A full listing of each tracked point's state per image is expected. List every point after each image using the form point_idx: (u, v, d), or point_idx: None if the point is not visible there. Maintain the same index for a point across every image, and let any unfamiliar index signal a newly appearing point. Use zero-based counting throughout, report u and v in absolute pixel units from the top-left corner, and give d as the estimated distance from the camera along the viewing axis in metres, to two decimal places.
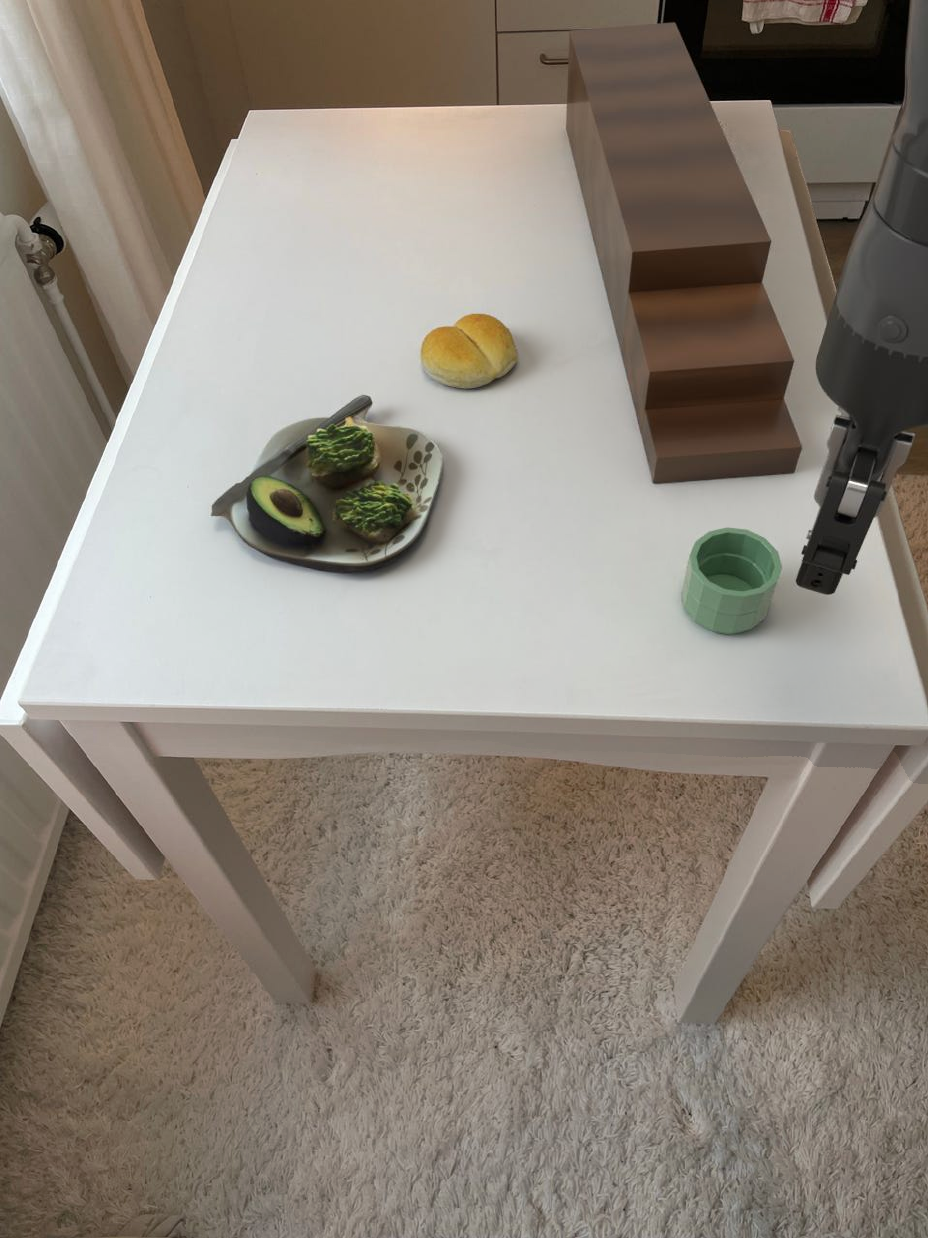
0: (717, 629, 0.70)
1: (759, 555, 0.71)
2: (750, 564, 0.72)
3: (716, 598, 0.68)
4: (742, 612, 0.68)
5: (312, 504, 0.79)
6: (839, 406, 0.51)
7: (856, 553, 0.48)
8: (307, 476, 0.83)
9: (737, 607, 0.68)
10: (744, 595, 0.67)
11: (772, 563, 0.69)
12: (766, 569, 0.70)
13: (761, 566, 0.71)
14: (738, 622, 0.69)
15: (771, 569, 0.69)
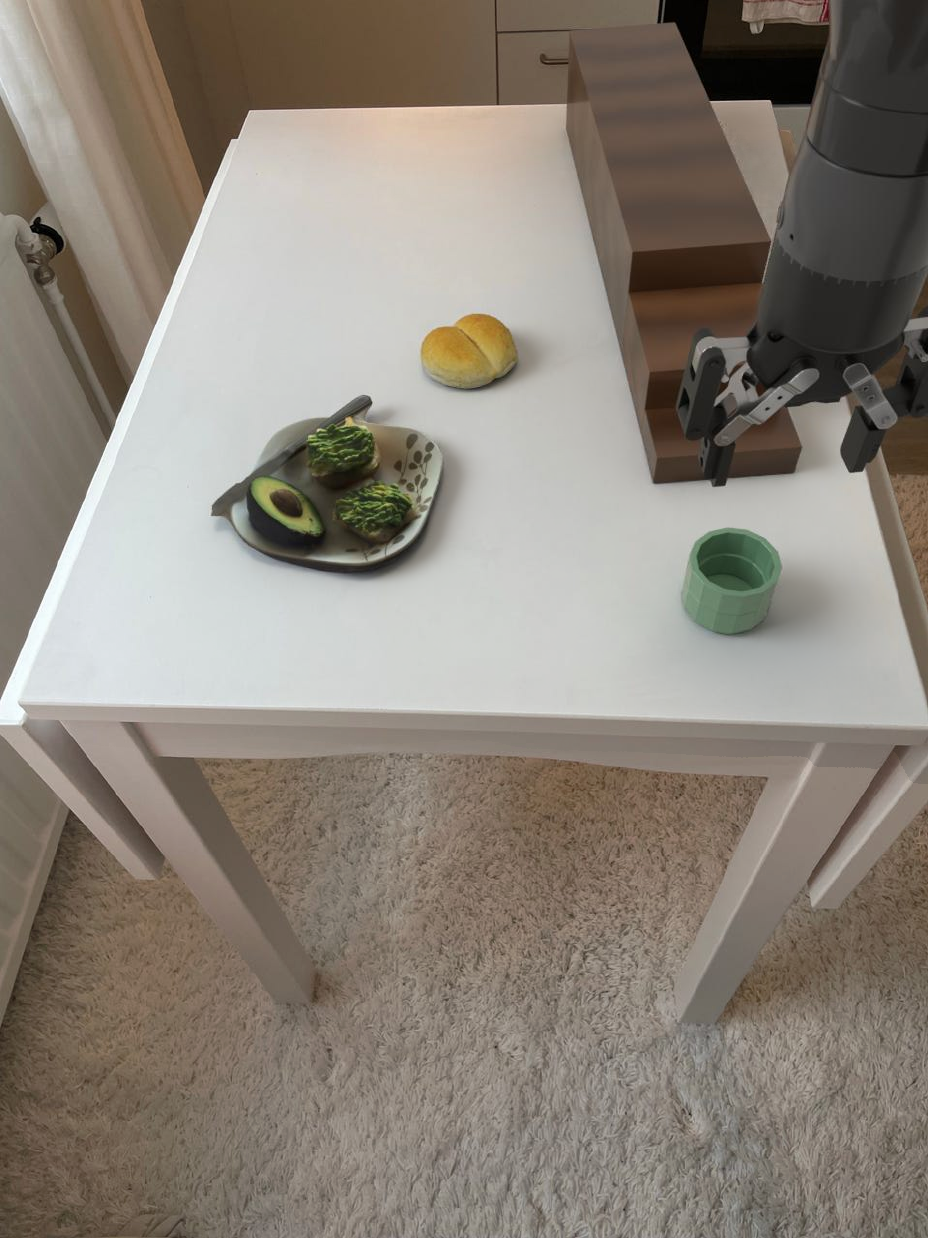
0: (717, 629, 0.70)
1: (759, 555, 0.71)
2: (750, 564, 0.72)
3: (716, 598, 0.68)
4: (742, 612, 0.68)
5: (312, 504, 0.79)
6: None
7: (690, 414, 0.53)
8: (307, 476, 0.83)
9: (737, 607, 0.68)
10: (744, 595, 0.67)
11: (772, 563, 0.69)
12: (766, 569, 0.70)
13: (761, 566, 0.71)
14: (738, 622, 0.69)
15: (771, 569, 0.69)
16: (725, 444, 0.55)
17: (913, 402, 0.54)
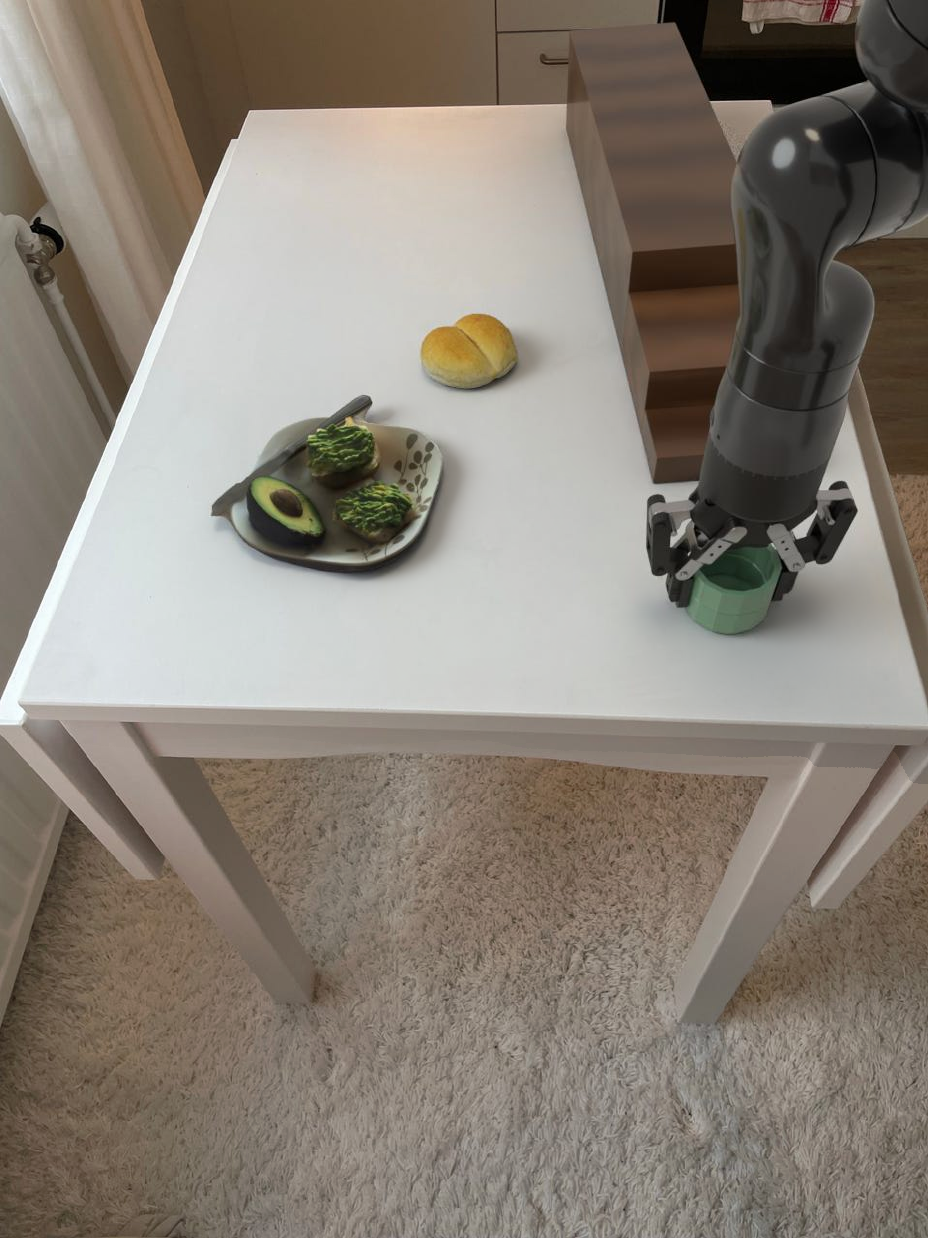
0: (717, 629, 0.70)
1: (759, 555, 0.71)
2: (750, 564, 0.72)
3: (716, 598, 0.68)
4: (742, 612, 0.68)
5: (312, 504, 0.79)
6: None
7: (651, 559, 0.66)
8: (307, 476, 0.83)
9: (737, 607, 0.68)
10: (744, 595, 0.67)
11: (772, 563, 0.69)
12: (766, 569, 0.70)
13: (761, 566, 0.71)
14: (738, 622, 0.69)
15: (771, 569, 0.69)
16: (684, 579, 0.68)
17: (818, 552, 0.67)
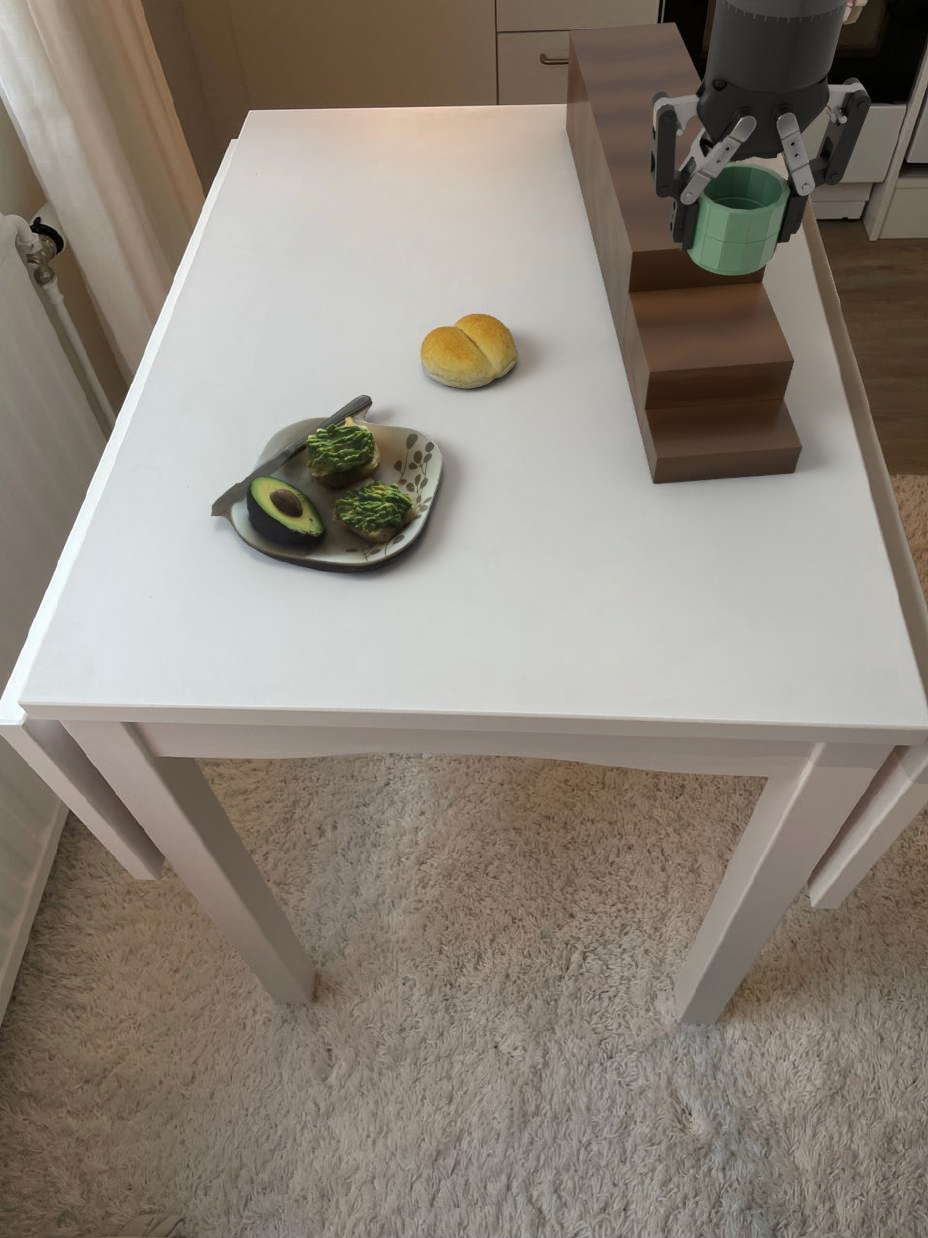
0: (722, 267, 0.68)
1: (766, 191, 0.68)
2: (756, 205, 0.69)
3: (722, 220, 0.65)
4: (749, 239, 0.66)
5: (312, 504, 0.79)
6: None
7: (656, 171, 0.64)
8: (307, 476, 0.83)
9: (744, 231, 0.65)
10: (751, 212, 0.64)
11: (780, 191, 0.66)
12: None
13: (768, 204, 0.68)
14: (745, 253, 0.67)
15: (779, 198, 0.67)
16: (689, 203, 0.66)
17: (828, 167, 0.64)
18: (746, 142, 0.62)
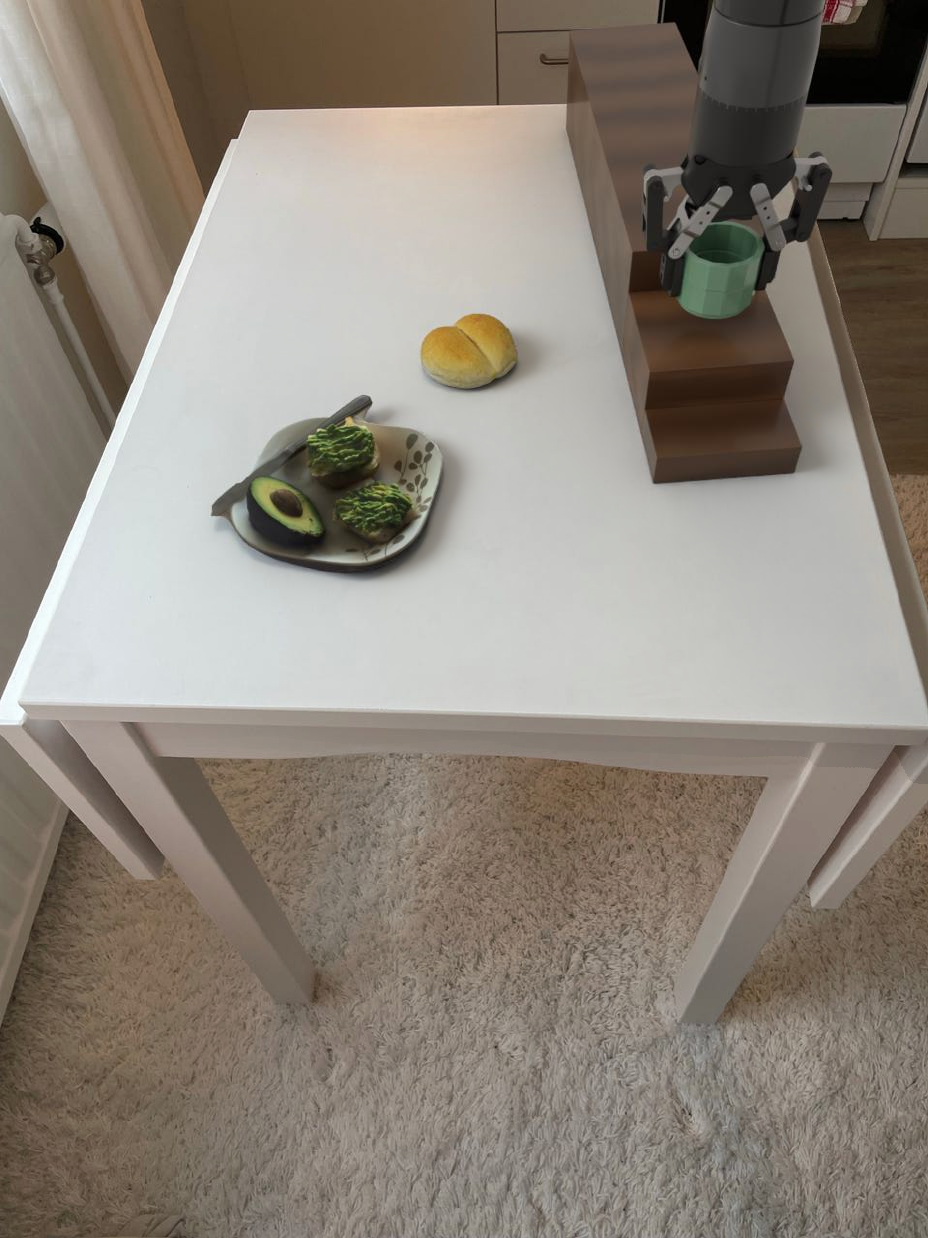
0: (706, 312, 0.77)
1: (744, 246, 0.78)
2: (737, 258, 0.79)
3: (705, 272, 0.75)
4: (729, 288, 0.75)
5: (312, 504, 0.79)
6: None
7: (646, 231, 0.73)
8: (307, 476, 0.83)
9: (724, 281, 0.75)
10: (730, 266, 0.74)
11: (756, 246, 0.76)
12: None
13: (746, 257, 0.78)
14: (725, 300, 0.76)
15: (755, 252, 0.76)
16: (676, 257, 0.75)
17: (797, 227, 0.74)
18: (724, 207, 0.72)
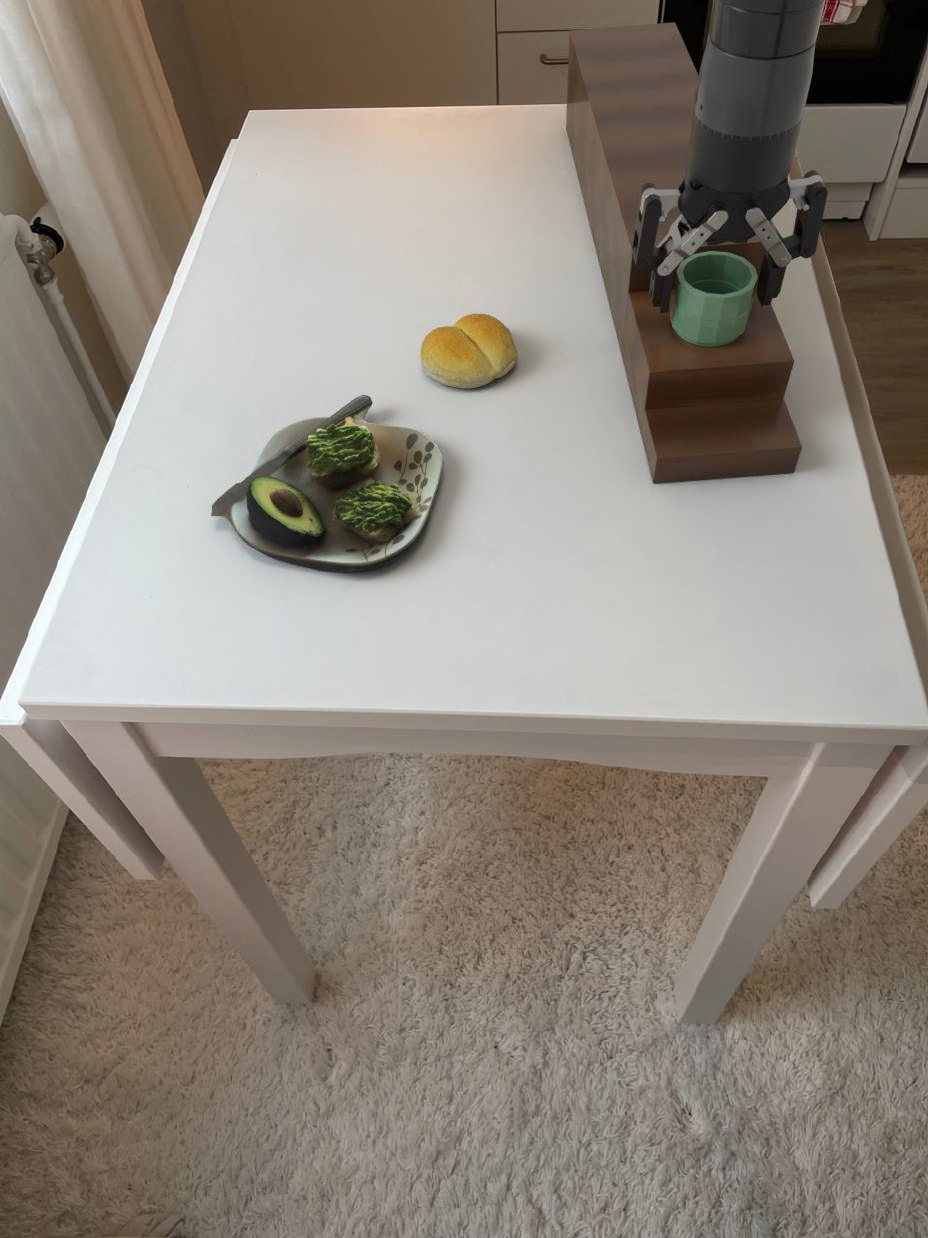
0: (701, 340, 0.79)
1: (738, 275, 0.80)
2: (731, 287, 0.81)
3: (700, 302, 0.77)
4: (723, 317, 0.77)
5: (312, 504, 0.79)
6: None
7: (638, 248, 0.74)
8: (307, 476, 0.83)
9: (718, 311, 0.77)
10: (724, 296, 0.76)
11: (749, 276, 0.78)
12: (745, 287, 0.79)
13: (740, 286, 0.80)
14: (720, 329, 0.78)
15: (749, 282, 0.78)
16: (665, 274, 0.76)
17: (801, 244, 0.75)
18: (720, 230, 0.74)
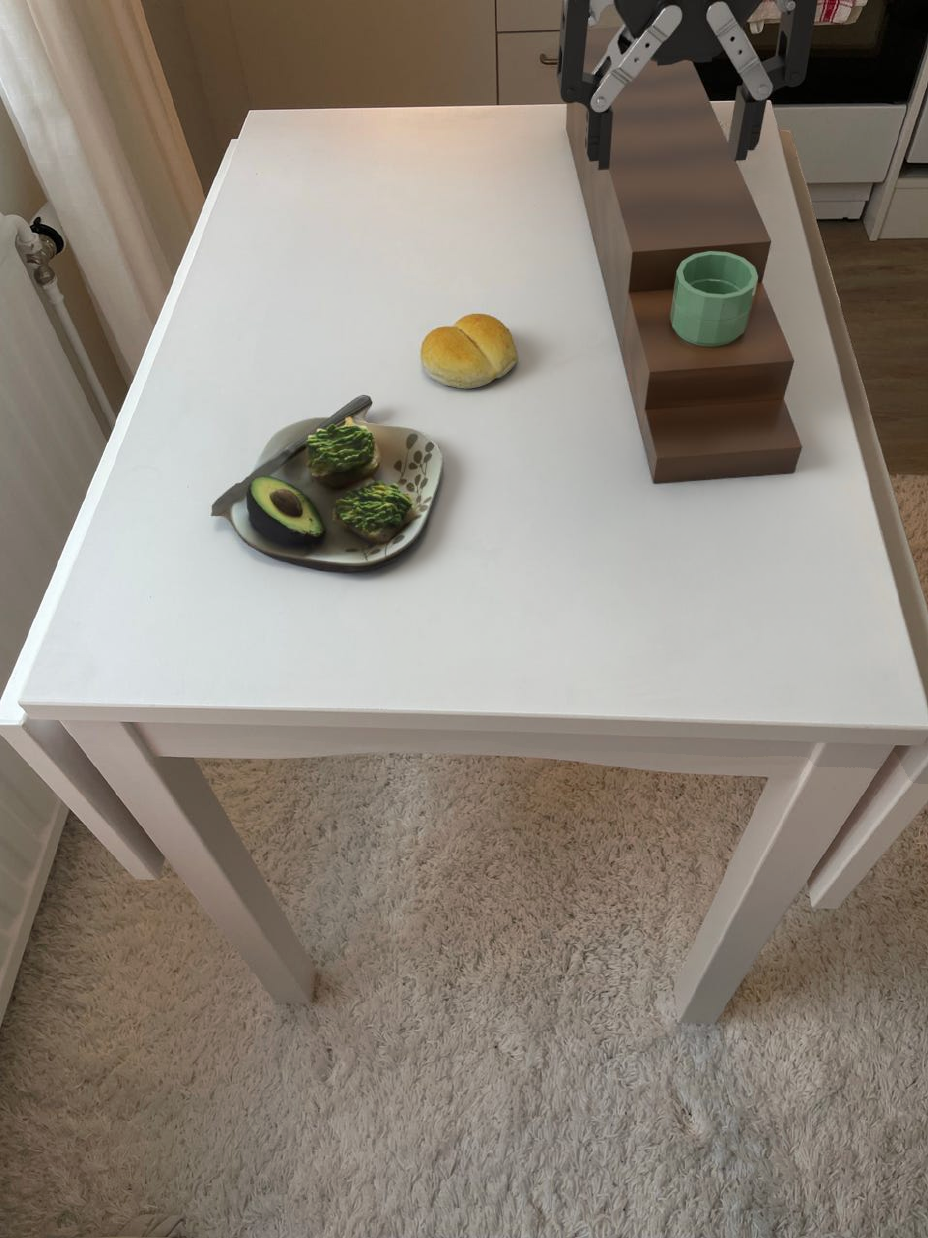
0: (701, 340, 0.79)
1: (738, 275, 0.80)
2: (731, 287, 0.81)
3: (700, 302, 0.77)
4: (723, 317, 0.77)
5: (312, 504, 0.79)
6: None
7: (562, 67, 0.55)
8: (307, 476, 0.83)
9: (718, 311, 0.77)
10: (724, 296, 0.76)
11: (749, 276, 0.78)
12: (745, 287, 0.79)
13: (740, 286, 0.80)
14: (720, 329, 0.78)
15: (749, 282, 0.78)
16: (602, 110, 0.56)
17: (786, 65, 0.55)
18: (674, 41, 0.54)
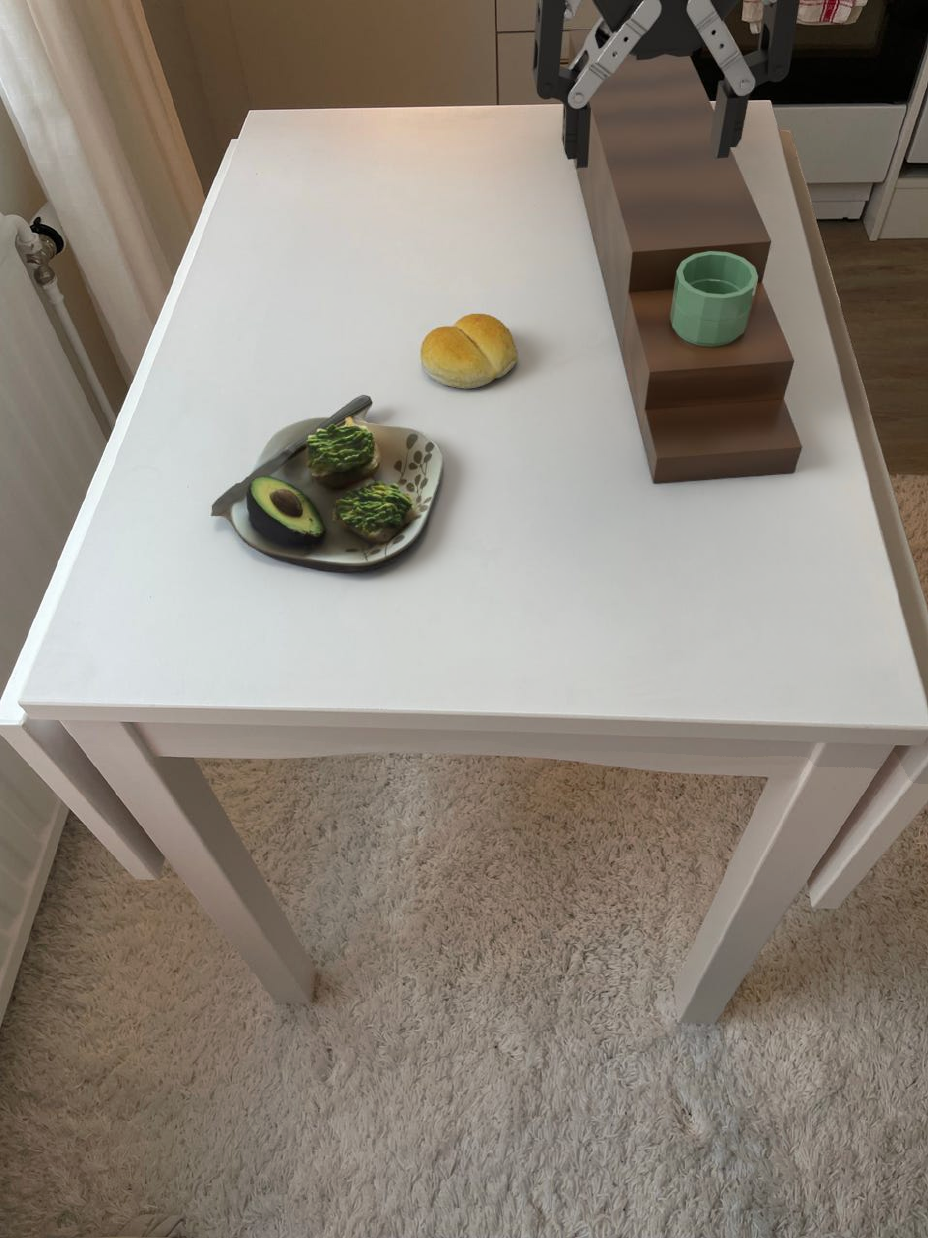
0: (701, 340, 0.79)
1: (738, 275, 0.80)
2: (731, 287, 0.81)
3: (700, 302, 0.77)
4: (723, 317, 0.77)
5: (312, 504, 0.79)
6: None
7: (538, 62, 0.53)
8: (307, 476, 0.83)
9: (718, 311, 0.77)
10: (724, 296, 0.76)
11: (749, 276, 0.78)
12: (745, 287, 0.79)
13: (740, 286, 0.80)
14: (720, 329, 0.78)
15: (749, 282, 0.78)
16: (580, 106, 0.55)
17: (769, 59, 0.53)
18: (653, 34, 0.52)
